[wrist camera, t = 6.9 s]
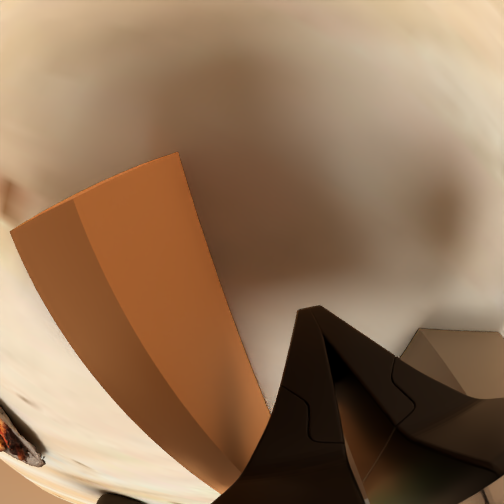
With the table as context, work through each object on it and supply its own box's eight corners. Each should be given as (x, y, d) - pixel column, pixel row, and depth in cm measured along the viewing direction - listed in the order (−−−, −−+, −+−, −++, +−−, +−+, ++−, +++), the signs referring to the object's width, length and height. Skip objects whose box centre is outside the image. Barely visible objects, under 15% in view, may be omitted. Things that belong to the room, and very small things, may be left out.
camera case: (498, 332, 14) (553, 399, 7) (383, 460, 21) (403, 517, 14) (419, 328, 12) (497, 445, 5) (298, 472, 19) (311, 544, 12)
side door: (178, 151, 8) (73, 198, 2) (297, 477, 19) (306, 531, 13) (126, 170, 8) (-12, 243, 2) (278, 481, 19) (285, 534, 13)
